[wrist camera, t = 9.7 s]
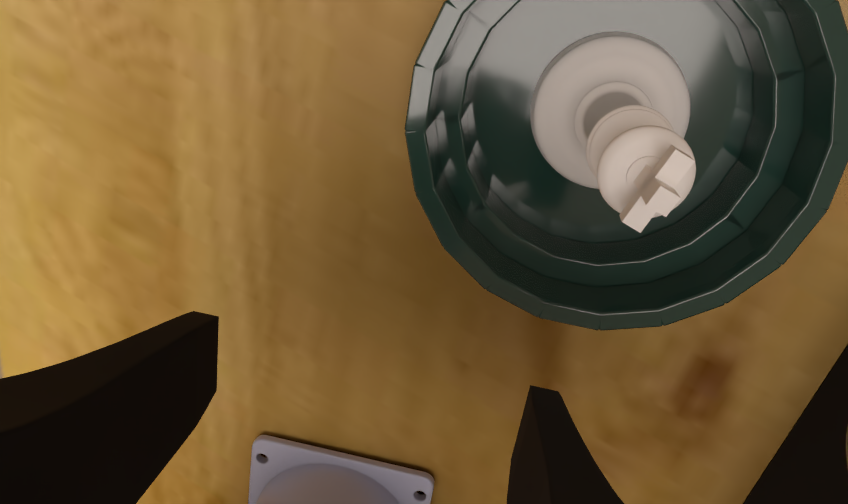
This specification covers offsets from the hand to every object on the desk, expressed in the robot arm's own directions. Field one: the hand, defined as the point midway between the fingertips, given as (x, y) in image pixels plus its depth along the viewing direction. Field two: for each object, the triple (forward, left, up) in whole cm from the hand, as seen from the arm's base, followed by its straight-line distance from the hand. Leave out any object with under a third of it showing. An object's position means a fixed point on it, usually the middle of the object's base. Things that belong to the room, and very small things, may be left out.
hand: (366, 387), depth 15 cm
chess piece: (+5, -5, -10) cm, 12 cm away
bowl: (+5, -5, -10) cm, 13 cm away
